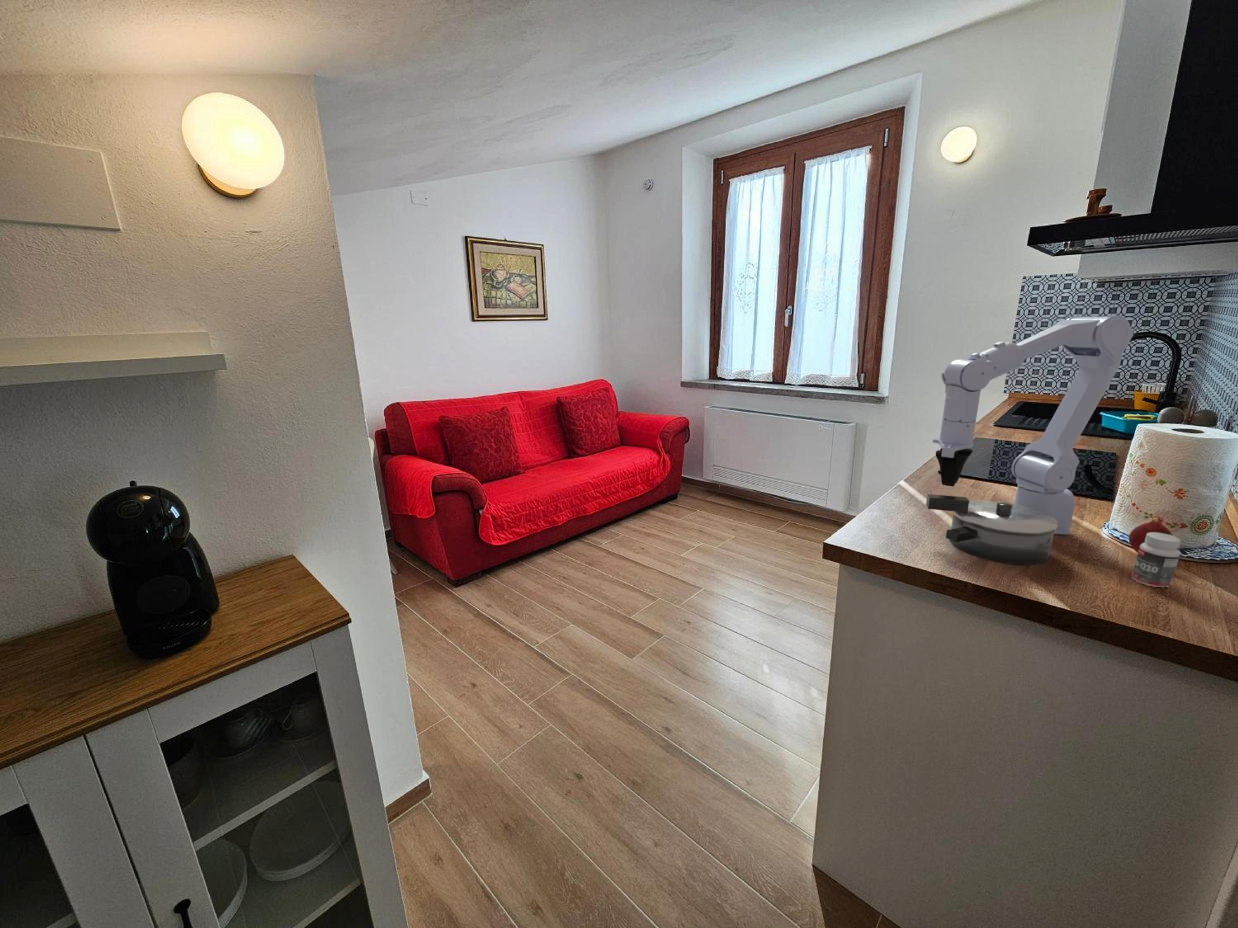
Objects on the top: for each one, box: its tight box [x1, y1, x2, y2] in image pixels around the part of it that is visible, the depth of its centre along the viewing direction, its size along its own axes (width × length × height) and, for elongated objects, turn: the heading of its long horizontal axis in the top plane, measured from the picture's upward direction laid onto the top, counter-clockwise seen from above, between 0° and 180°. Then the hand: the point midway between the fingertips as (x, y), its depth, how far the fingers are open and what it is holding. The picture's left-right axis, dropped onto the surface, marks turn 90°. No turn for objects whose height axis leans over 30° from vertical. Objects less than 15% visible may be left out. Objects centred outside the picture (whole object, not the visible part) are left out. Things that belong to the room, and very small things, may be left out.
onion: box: [1128, 517, 1174, 554], centre depth 96 cm, size 6×6×8 cm
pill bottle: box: [1131, 532, 1182, 588], centre depth 87 cm, size 5×5×8 cm
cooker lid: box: [925, 493, 1058, 535], centre depth 102 cm, size 21×17×3 cm
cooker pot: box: [945, 513, 1055, 566], centre depth 102 cm, size 21×16×6 cm
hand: (949, 483), depth 109 cm, fingers open, 2 cm apart
